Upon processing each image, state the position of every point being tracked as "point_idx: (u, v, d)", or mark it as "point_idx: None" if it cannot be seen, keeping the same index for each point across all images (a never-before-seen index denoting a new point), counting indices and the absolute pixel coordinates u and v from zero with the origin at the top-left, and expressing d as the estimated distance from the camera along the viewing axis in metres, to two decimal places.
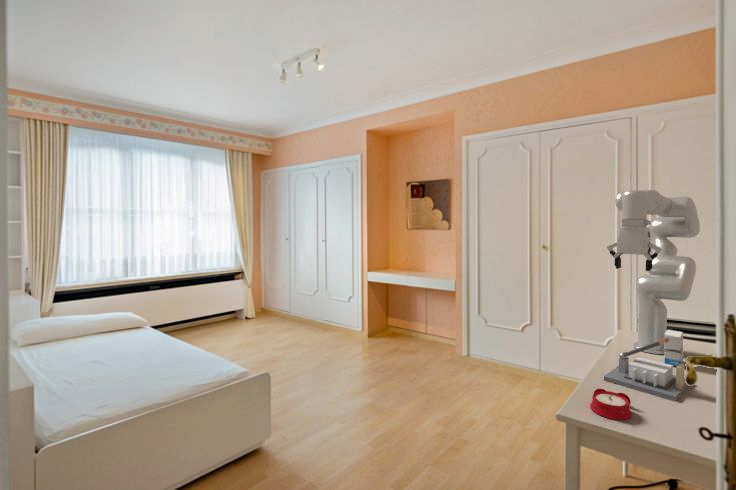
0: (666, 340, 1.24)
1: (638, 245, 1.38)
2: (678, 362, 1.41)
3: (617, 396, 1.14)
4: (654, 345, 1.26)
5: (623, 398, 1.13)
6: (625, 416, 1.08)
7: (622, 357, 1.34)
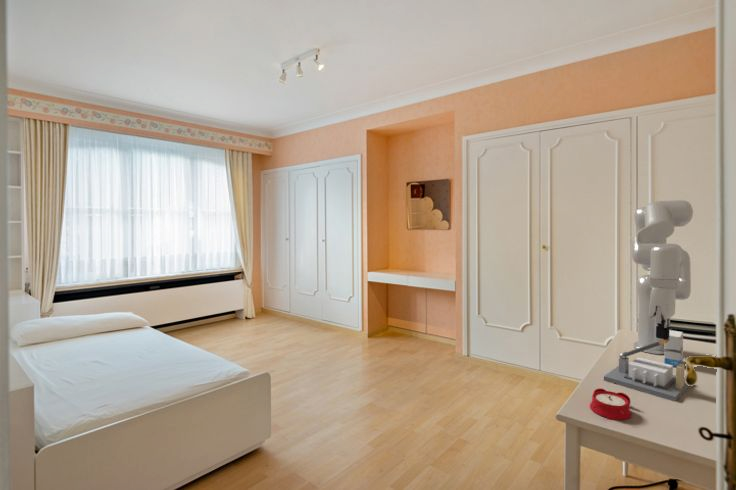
0: (666, 340, 1.24)
1: (674, 306, 1.24)
2: (678, 362, 1.41)
3: (617, 396, 1.14)
4: (654, 345, 1.26)
5: (623, 398, 1.13)
6: (625, 416, 1.08)
7: (622, 357, 1.34)
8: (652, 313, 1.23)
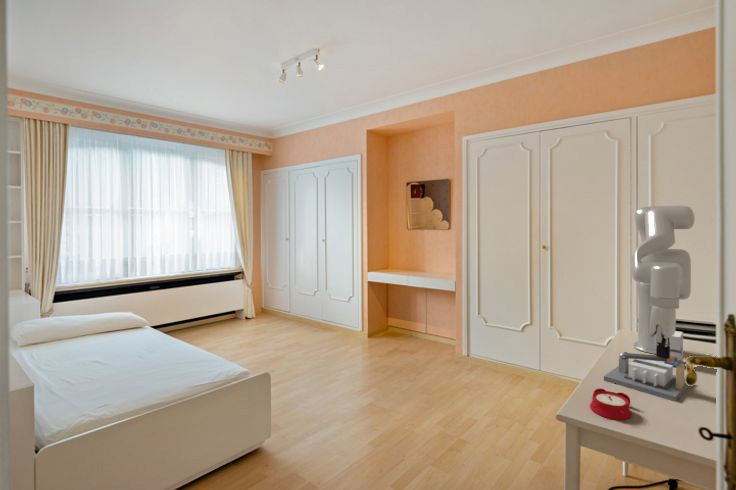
0: (675, 360, 1.23)
1: (674, 325, 1.24)
2: (678, 362, 1.41)
3: (617, 396, 1.14)
4: (660, 360, 1.25)
5: (623, 398, 1.13)
6: (625, 416, 1.08)
7: (622, 357, 1.34)
8: (652, 332, 1.23)
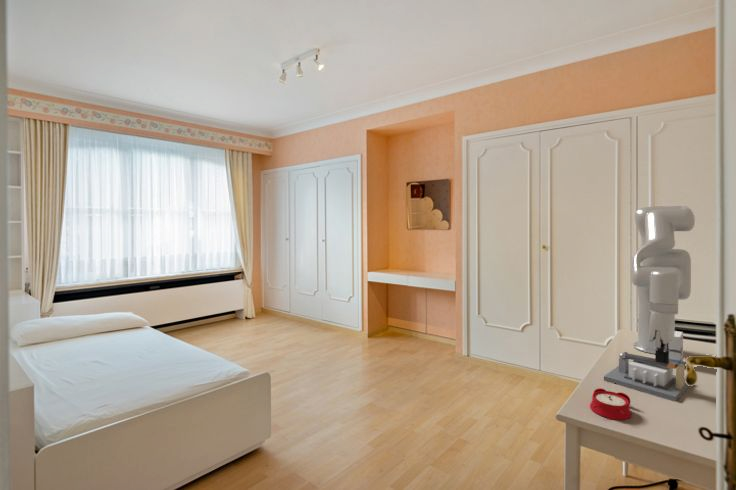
0: (676, 366, 1.23)
1: (673, 330, 1.25)
2: (678, 362, 1.41)
3: (617, 396, 1.14)
4: (661, 364, 1.25)
5: (623, 398, 1.13)
6: (625, 416, 1.08)
7: (621, 357, 1.34)
8: (651, 337, 1.23)
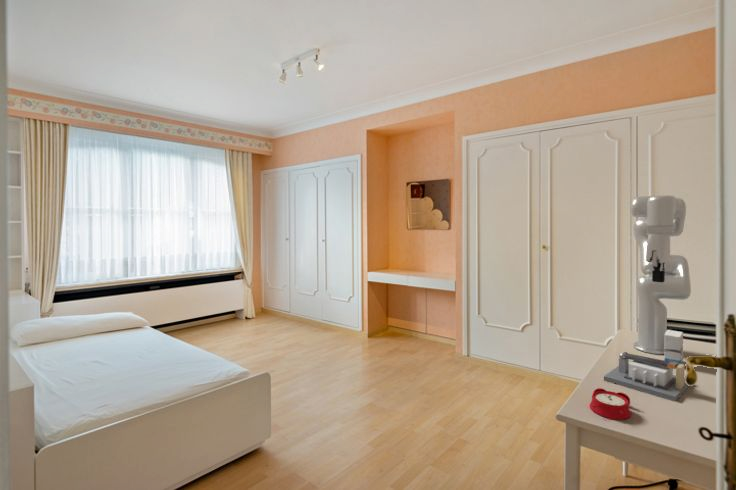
0: (676, 366, 1.23)
1: (669, 252, 1.35)
2: (678, 362, 1.41)
3: (617, 396, 1.14)
4: (661, 364, 1.25)
5: (623, 398, 1.13)
6: (624, 416, 1.08)
7: (621, 357, 1.34)
8: (649, 258, 1.34)
